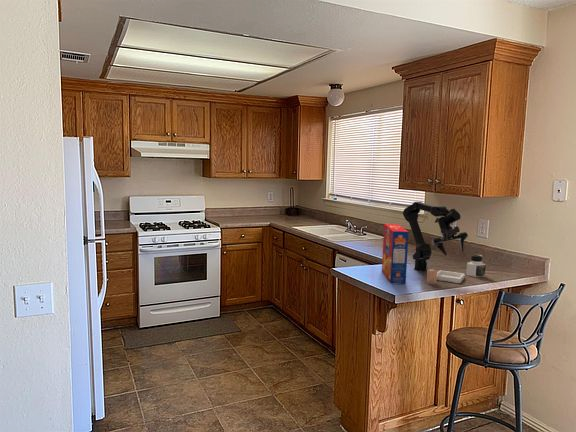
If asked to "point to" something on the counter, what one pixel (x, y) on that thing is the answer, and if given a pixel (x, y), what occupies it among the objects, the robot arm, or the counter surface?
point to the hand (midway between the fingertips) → (454, 253)
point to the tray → (450, 276)
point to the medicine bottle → (476, 266)
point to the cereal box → (395, 253)
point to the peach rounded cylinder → (431, 276)
